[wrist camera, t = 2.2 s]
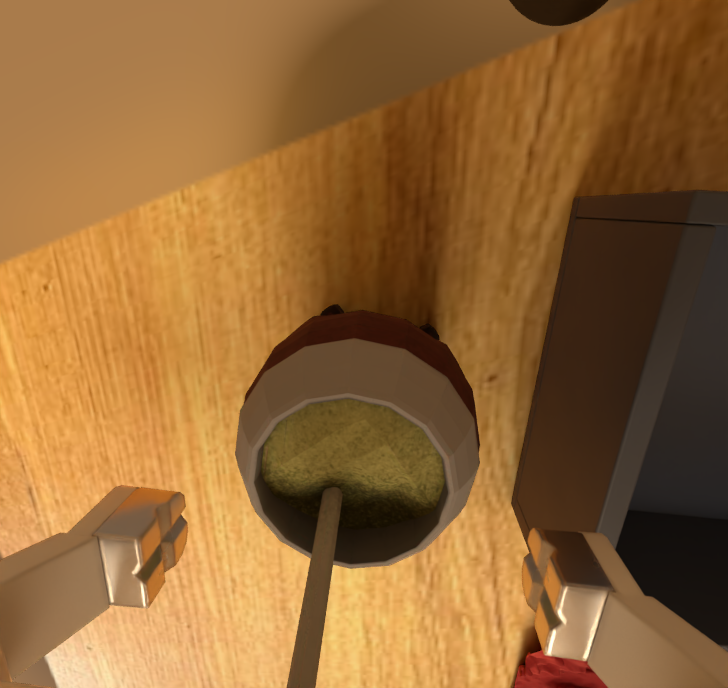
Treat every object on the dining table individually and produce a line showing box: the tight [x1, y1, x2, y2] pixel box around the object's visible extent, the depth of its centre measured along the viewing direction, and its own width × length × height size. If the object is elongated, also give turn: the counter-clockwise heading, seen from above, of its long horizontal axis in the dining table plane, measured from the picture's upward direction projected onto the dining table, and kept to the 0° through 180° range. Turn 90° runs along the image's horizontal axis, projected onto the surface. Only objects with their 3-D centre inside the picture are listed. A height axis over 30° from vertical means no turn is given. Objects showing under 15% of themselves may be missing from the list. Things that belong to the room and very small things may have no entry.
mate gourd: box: [235, 304, 480, 688], centre depth 11 cm, size 8×8×15 cm
